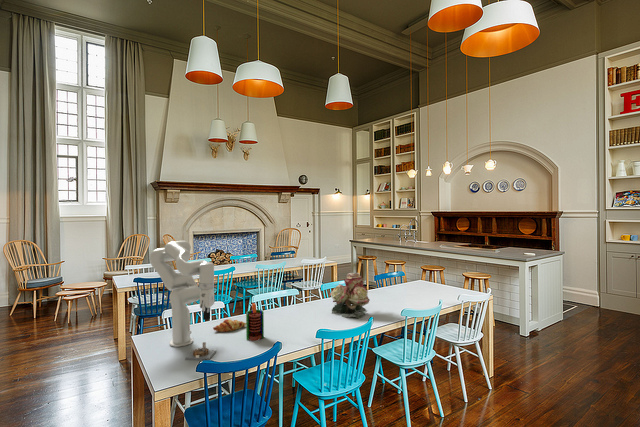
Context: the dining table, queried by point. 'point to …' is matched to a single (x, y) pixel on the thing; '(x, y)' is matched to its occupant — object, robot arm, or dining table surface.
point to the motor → (254, 324)
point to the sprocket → (201, 351)
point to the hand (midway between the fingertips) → (206, 319)
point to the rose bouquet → (350, 297)
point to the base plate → (208, 356)
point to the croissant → (229, 325)
